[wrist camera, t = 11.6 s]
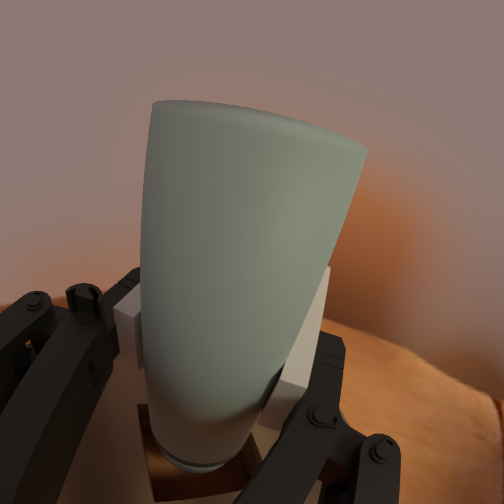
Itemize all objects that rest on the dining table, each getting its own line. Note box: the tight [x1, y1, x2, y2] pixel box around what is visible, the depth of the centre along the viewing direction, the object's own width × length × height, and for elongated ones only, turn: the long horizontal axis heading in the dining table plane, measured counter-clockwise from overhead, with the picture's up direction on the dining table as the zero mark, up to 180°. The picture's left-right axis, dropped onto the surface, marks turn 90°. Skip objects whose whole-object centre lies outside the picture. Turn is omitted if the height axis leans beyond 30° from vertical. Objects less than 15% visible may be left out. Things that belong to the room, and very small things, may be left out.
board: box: [57, 354, 349, 504], centre depth 14 cm, size 18×14×4 cm
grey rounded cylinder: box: [140, 100, 368, 474], centre depth 10 cm, size 4×4×16 cm
